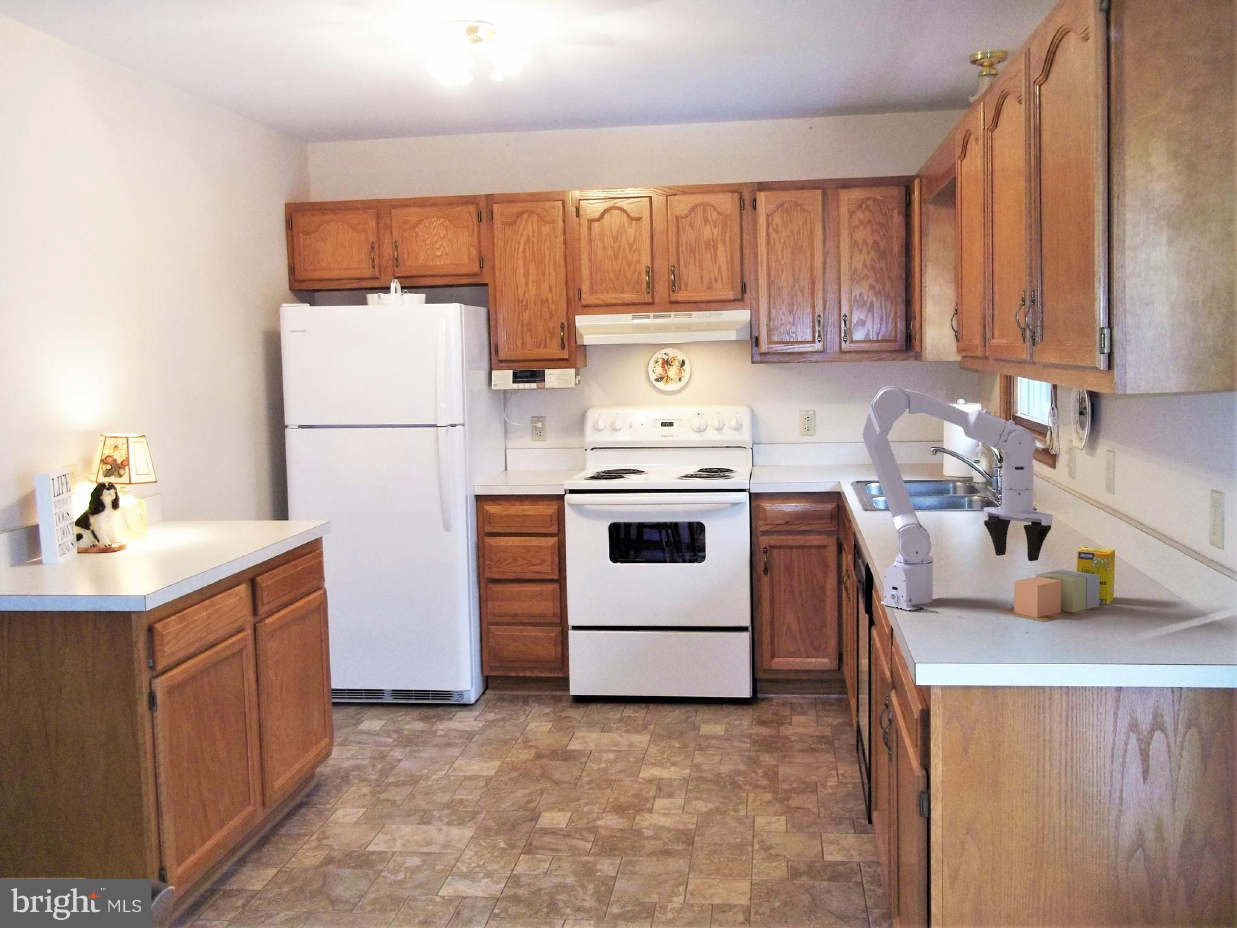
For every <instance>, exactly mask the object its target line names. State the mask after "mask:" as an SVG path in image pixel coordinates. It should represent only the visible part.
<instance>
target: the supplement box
mask: <svg viewBox="0 0 1237 928" xmlns="http://www.w3.org/2000/svg"><path fill="white" fill-rule="evenodd" d="M1115 560H1116V549H1115V548H1102V547H1101V548H1099V547H1098V548H1097V547H1089V546H1083V547H1081V548H1080V549H1078V550H1077V552H1076V571H1077V572H1083V573H1089V574H1095V575H1100V596H1099V604H1104V605H1109V604H1110V603H1111V602H1112V601H1113V600H1114V599H1115V575H1116V574H1115V571H1116V570H1115V566H1116V565H1115V563H1116V561H1115Z"/></svg>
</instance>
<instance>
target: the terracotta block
mask: <svg viewBox="0 0 1237 928" xmlns="http://www.w3.org/2000/svg"><path fill="white" fill-rule="evenodd" d="M1013 585H1014V588H1013V589H1014V594H1013V595H1014V599H1013V600H1014V601H1013V602H1014V604H1013V607H1014V613H1018V614H1023V615H1028V616H1032V617H1042V616H1046V615H1050V614H1055V613H1059V612H1061V580H1055V579H1049V578H1043V577H1036V576H1035V577H1029V578H1024V579H1019V580H1015V581H1014V584H1013Z"/></svg>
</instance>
